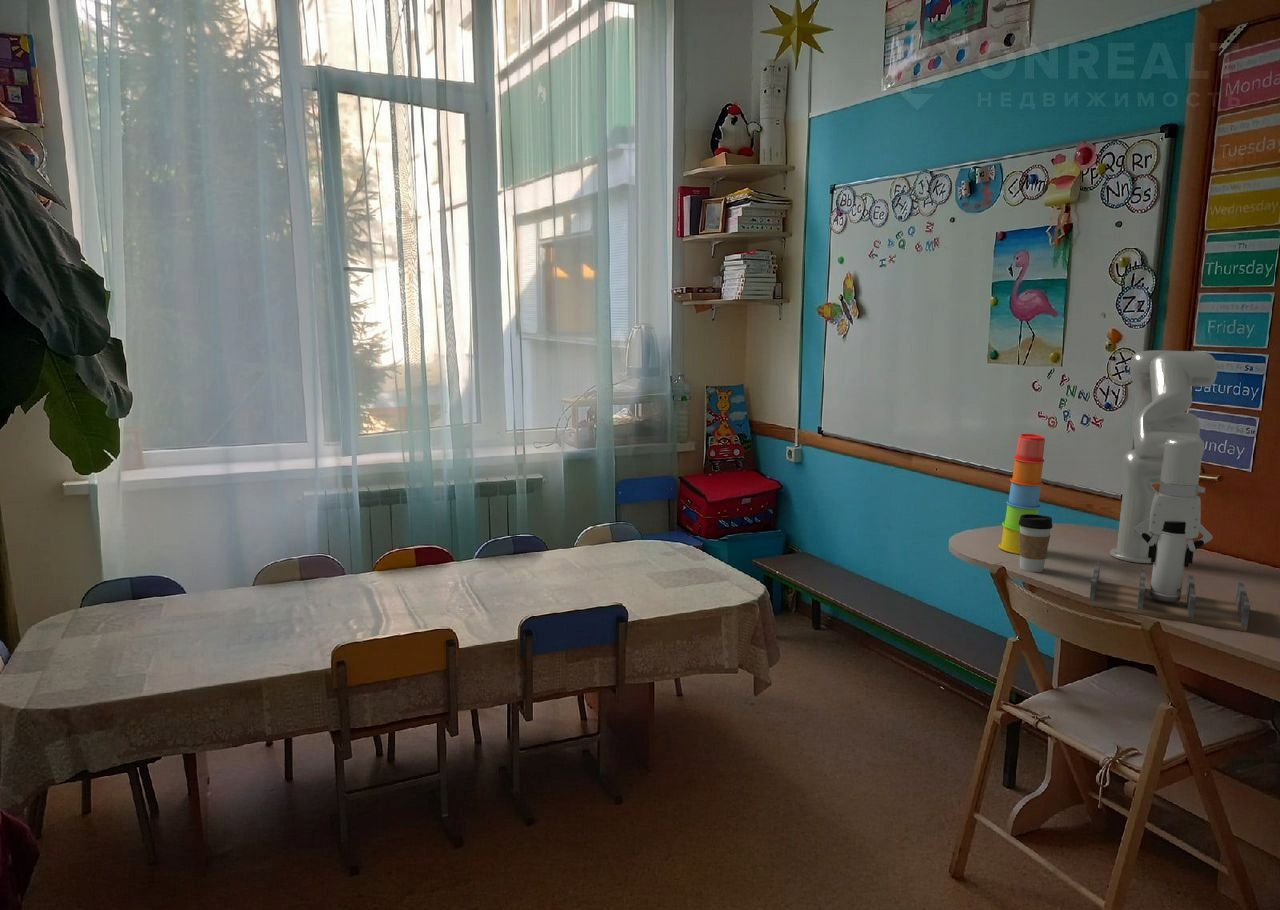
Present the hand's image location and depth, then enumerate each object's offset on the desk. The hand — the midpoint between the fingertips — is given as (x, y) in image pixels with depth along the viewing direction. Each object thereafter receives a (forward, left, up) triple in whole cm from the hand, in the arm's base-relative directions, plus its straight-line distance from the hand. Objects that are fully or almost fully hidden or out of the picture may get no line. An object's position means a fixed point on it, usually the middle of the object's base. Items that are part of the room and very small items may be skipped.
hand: (1169, 562), depth 199 cm
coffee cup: (-15, -31, -11) cm, 36 cm away
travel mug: (0, 0, -9) cm, 9 cm away
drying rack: (0, 0, -11) cm, 11 cm away
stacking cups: (-33, -37, -11) cm, 51 cm away
